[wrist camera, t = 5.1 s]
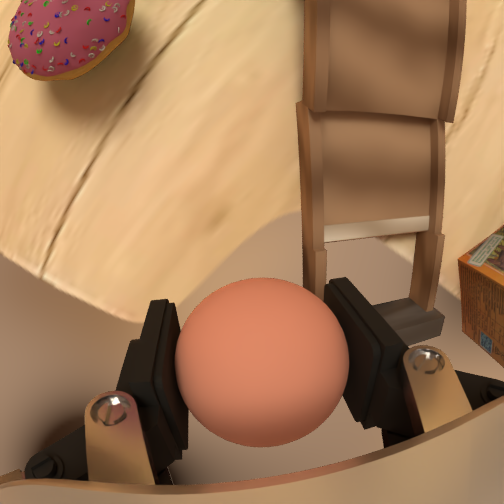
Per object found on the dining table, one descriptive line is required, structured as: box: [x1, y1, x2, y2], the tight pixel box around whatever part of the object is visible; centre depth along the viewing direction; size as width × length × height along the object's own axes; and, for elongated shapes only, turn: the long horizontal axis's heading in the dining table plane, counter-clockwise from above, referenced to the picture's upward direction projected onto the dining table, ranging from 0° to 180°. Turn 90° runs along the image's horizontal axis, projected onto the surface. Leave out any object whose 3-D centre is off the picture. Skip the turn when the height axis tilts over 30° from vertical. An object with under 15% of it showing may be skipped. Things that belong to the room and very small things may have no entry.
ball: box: [175, 278, 349, 447], centre depth 9 cm, size 5×5×5 cm
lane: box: [296, 0, 466, 346], centre depth 18 cm, size 32×12×8 cm, turn 5°
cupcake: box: [8, 0, 135, 81], centre depth 11 cm, size 9×8×12 cm
